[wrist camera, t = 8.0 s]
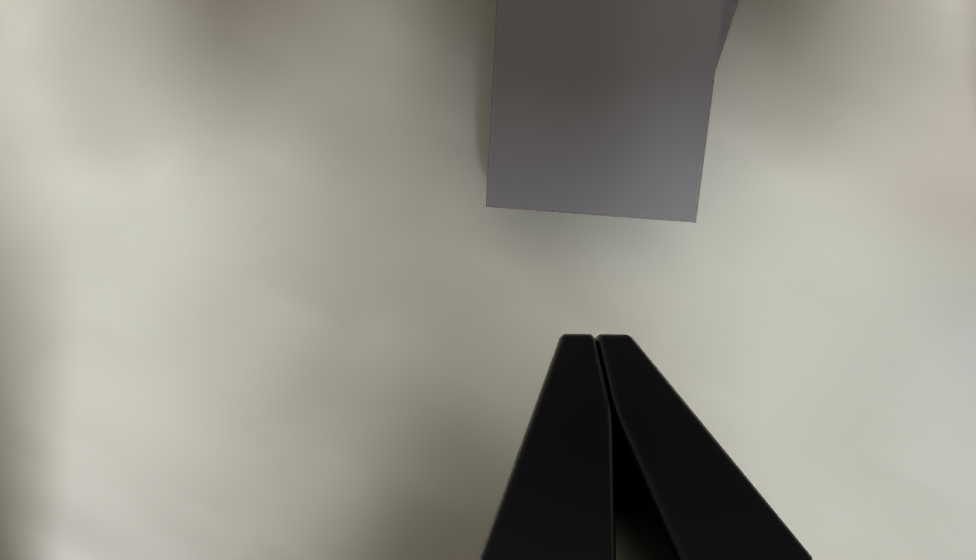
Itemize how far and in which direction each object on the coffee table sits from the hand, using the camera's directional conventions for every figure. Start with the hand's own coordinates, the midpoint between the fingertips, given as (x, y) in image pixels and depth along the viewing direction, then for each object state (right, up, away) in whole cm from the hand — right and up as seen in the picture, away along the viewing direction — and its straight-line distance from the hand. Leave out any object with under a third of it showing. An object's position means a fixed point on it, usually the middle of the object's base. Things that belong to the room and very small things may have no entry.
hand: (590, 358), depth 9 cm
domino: (+1, +3, +9) cm, 10 cm away
